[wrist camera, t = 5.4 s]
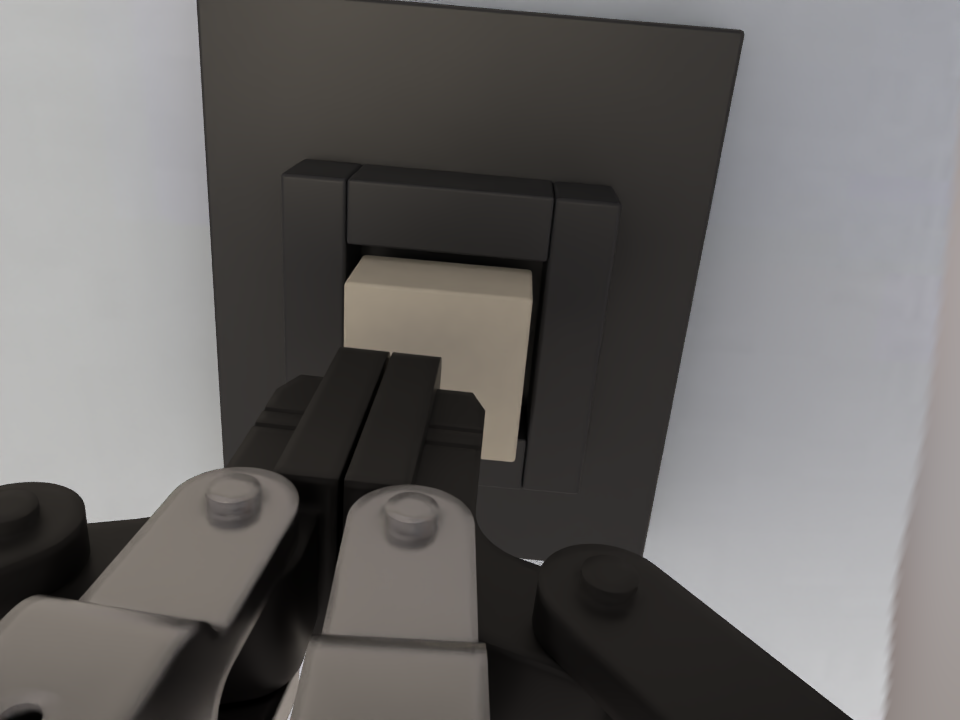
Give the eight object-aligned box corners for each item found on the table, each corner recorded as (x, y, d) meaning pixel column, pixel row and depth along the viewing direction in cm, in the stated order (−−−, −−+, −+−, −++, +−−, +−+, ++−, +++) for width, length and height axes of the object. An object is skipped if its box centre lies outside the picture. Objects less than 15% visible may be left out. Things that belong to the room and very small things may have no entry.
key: (362, 253, 15) (343, 282, 13) (532, 268, 15) (533, 299, 13) (360, 404, 16) (342, 447, 15) (515, 419, 16) (514, 463, 15)
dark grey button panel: (220, -15, 16) (156, -21, 13) (727, 29, 16) (771, 31, 13) (245, 499, 21) (201, 574, 18) (633, 536, 20) (650, 617, 18)
